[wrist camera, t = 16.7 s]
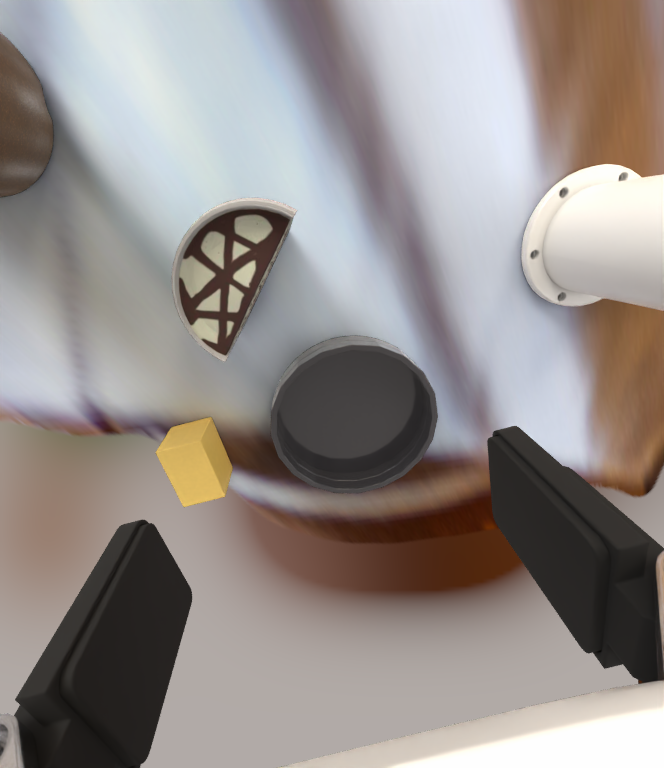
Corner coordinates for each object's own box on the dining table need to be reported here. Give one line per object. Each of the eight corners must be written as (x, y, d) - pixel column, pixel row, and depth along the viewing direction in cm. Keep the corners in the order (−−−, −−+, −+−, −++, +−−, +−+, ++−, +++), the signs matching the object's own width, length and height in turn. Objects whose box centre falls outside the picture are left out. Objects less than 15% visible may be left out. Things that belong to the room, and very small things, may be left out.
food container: (232, 176, 31) (205, 152, 22) (296, 214, 33) (297, 208, 23) (179, 304, 35) (138, 330, 26) (240, 333, 36) (221, 368, 27)
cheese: (211, 416, 40) (200, 440, 35) (233, 468, 42) (225, 497, 38) (171, 426, 40) (154, 452, 35) (195, 477, 42) (183, 507, 38)
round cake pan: (414, 317, 37) (425, 325, 34) (434, 454, 44) (445, 471, 41) (251, 358, 37) (247, 370, 34) (296, 488, 44) (296, 509, 41)
